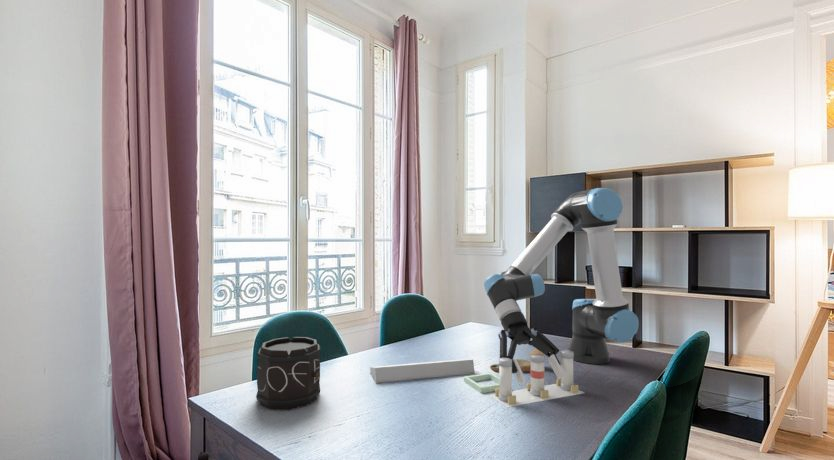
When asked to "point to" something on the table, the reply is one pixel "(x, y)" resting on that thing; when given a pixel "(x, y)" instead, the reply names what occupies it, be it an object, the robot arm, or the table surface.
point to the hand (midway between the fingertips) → (542, 380)
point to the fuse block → (525, 397)
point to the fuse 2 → (567, 369)
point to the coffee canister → (288, 373)
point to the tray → (482, 389)
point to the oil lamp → (523, 364)
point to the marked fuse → (537, 374)
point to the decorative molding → (422, 370)
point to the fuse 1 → (505, 379)
